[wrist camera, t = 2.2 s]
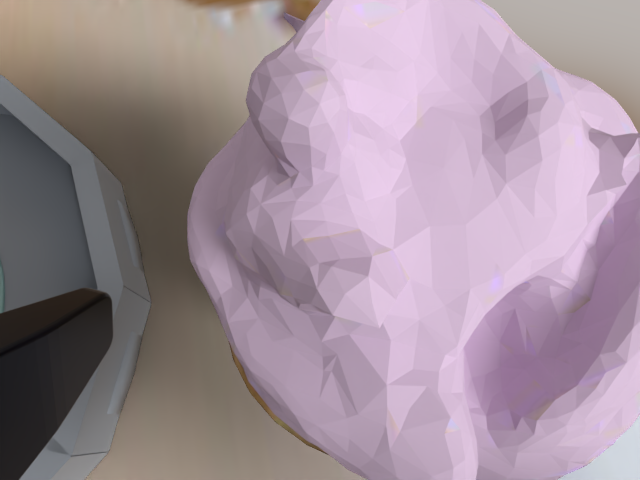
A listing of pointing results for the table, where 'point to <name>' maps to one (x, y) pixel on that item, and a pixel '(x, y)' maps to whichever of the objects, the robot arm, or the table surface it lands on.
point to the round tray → (69, 265)
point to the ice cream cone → (428, 246)
